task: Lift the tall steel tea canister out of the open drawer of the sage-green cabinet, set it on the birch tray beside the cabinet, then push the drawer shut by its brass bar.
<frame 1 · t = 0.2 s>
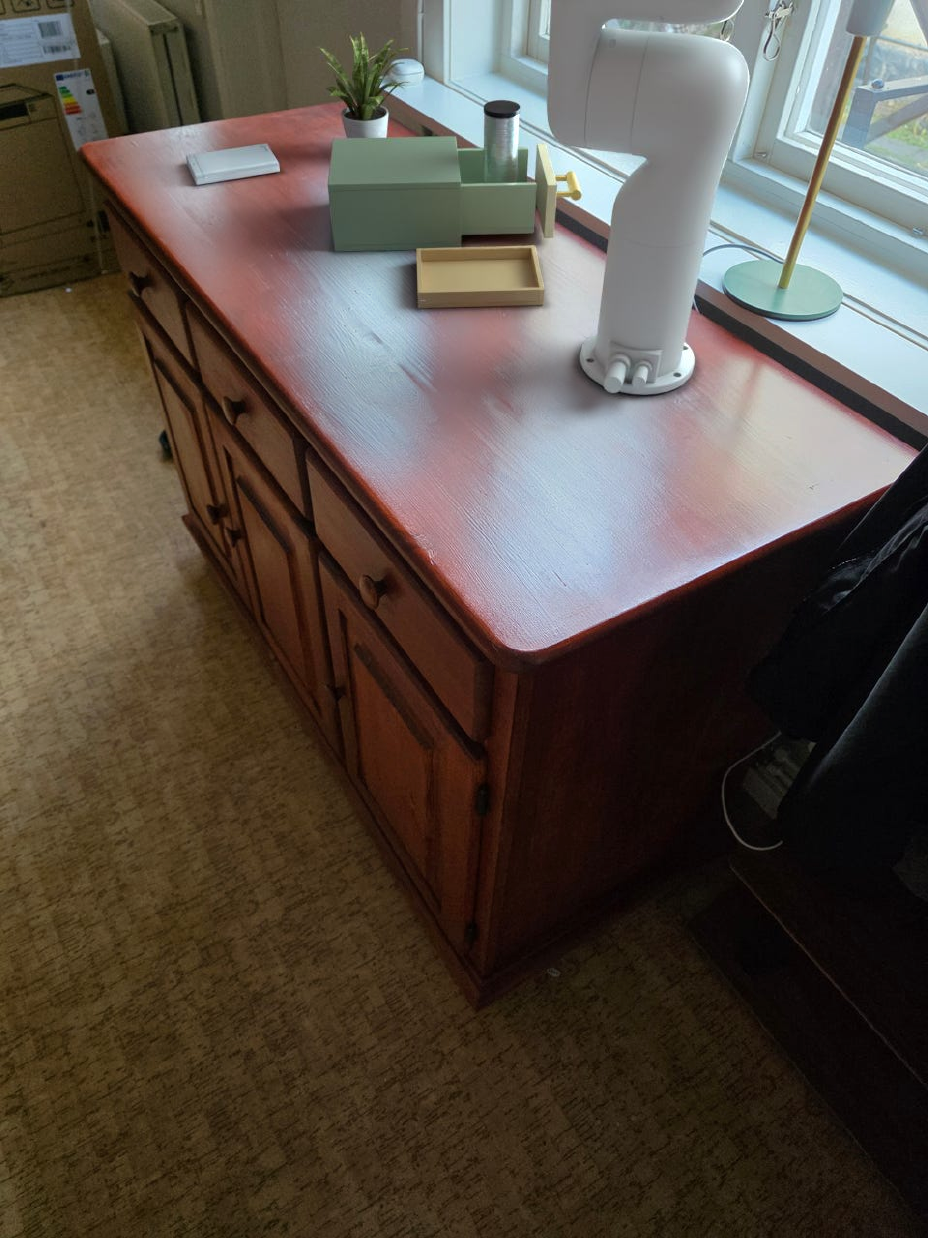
cabinet: (398, 224, 121), on the table
house plant: (375, 159, 136), on the table
canister: (499, 207, 120), point 2 cm above the table, touching drawer
drawer: (506, 190, 119), point 4 cm above the table, slide at 11.0 cm, touching canister
hard drive: (233, 170, 134), on the table
tray: (478, 283, 111), on the table
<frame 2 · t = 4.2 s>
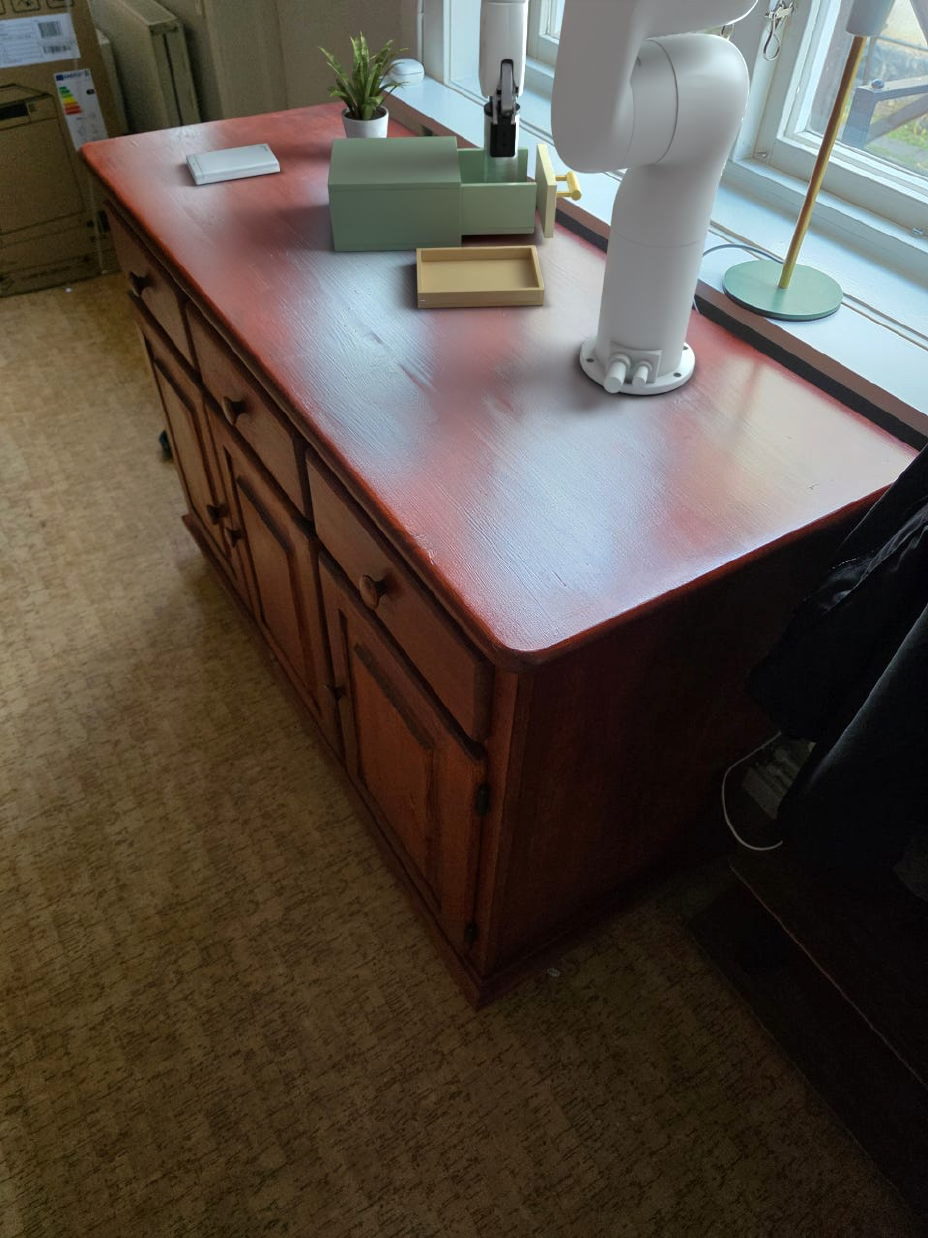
hand: (500, 146, 115), 10 cm above the table, tool pointing down, fingers closed on canister, 4 cm apart
canister: (499, 207, 120), point 2 cm above the table, touching drawer, gripper
everything else where it was.
when the fingers open (8 cm above the table, at t = 11.4 s): canister stays where it is, resting on tray.
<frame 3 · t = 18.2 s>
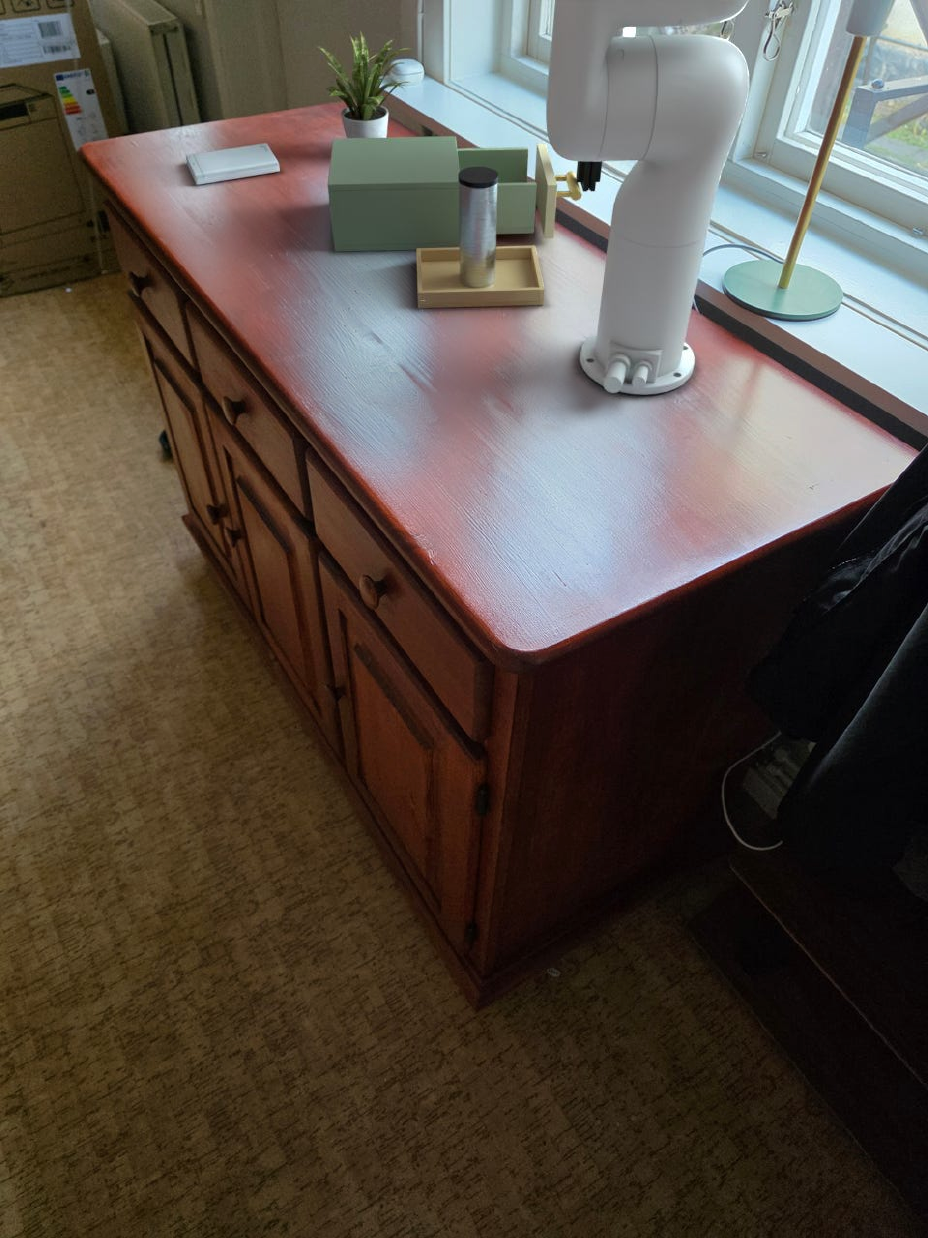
hand: (587, 186, 119), 5 cm above the table, tool pointing down, fingers closed
canister: (477, 279, 111), resting on tray
drawer: (506, 190, 119), point 4 cm above the table, slide at 11.0 cm, touching gripper
everything else where it was.
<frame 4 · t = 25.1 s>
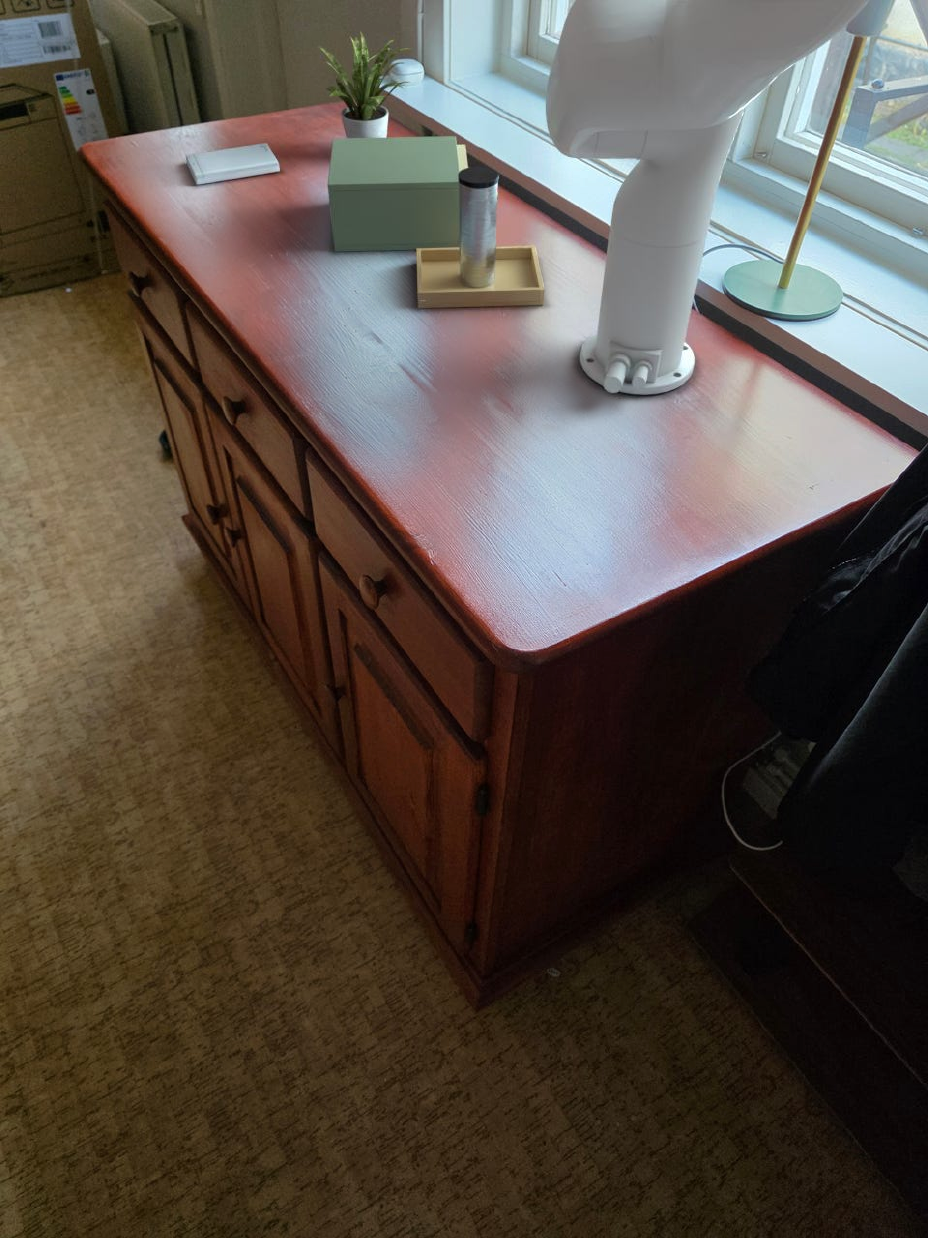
hand: (646, 45, 94), 25 cm above the table, tool pointing down, fingers closed
drawer: (424, 192, 118), point 4 cm above the table, slide at 0.0 cm
everything else where it was.
at the end: canister inside the target area in the tray (0.2 cm from its centre), point 0.5 cm above the tray's base; canister tilted 0°; drawer slide at 0.0 cm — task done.
